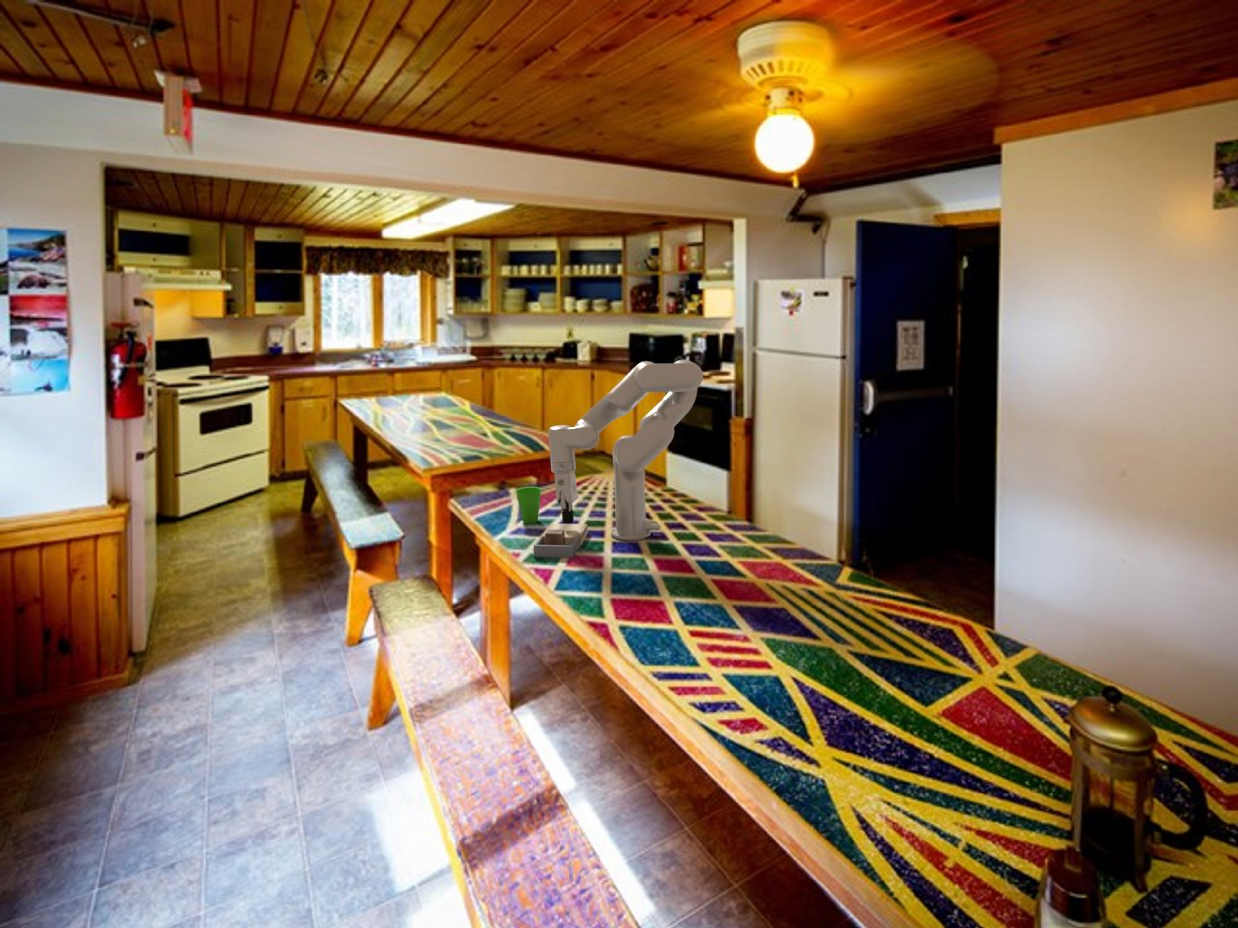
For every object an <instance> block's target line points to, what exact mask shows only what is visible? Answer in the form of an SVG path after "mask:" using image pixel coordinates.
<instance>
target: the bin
mask: <svg viewBox="0 0 1238 928" xmlns="http://www.w3.org/2000/svg"><path fill="white" fill-rule="evenodd" d="M579 549H580V547H579V536H576V537H575V539H574V540H573V542H572V544H571V545H544V535H543V534H541V535H540V536H539V538H538V539H537V540H536V541H535V543H534V545H533V556H534V557H533V558H552V559H553V558H556V559H557V558H558V559H559V558H561V559H562V558H563V559H567V558H568V559H573V558H574V557H575V555H577V554H576V553H577V552H578V550H579Z"/></svg>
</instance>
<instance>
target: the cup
mask: <svg viewBox="0 0 1238 928" xmlns="http://www.w3.org/2000/svg"><path fill="white" fill-rule="evenodd" d="M542 491H543V489H542V488H541V487H538V486H525V487H524V486H523V487H519V488H517V489H515V490H514V492H515V494H516V498H517V502H518V507H519V512H520V516H521V520H522V522H523V523H524V524H534V523H537V522H538V520H539V512H540V504H541V495H542Z"/></svg>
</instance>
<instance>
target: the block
mask: <svg viewBox="0 0 1238 928" xmlns="http://www.w3.org/2000/svg"><path fill="white" fill-rule="evenodd" d="M545 531H546V530H545ZM545 545H565V535H564V530H555V529H548V530H547V531H546V533H545Z"/></svg>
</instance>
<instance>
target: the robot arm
mask: <svg viewBox="0 0 1238 928" xmlns="http://www.w3.org/2000/svg"><path fill="white" fill-rule="evenodd" d="M703 379H704V374H703V370H702V369H701V367H700V366H699V365H698V364H697V363H695V362H692V361H691V360H687V359H679V360H676V361H675V362H673V363H654V362H652V361H648V360H645V361H641V362H640V363H638V364H636V366H634V367H633V368H632V369H631V370H630V371H629V372H628V373H627V374H626V375H625V377H624V378H622V380H620V382H618V384H616V385H615V386H614V387H613V388H612V389H611V390H610V391H609V392H608V393H607V394H606V395H604V397H602V398H601V399H600V400H599V401H598V402H597V403H596V404H595V405H593V406H592V407H591V408H590V409H589V410H588V411H587V412H586V413H585V414H584V415H583V416H582V417H581V418H580V419H579V420H578V421H577V422H576V424H575V425H574V427H572V426H570V425H567V424H561V425H554V426H551V427H550V428H549V429H548V431H547V433H548V435H547V436H548V446H549V459H550V468H551V472H552V473H553V474H554V488H555V501H556V504H558V505H560V508H561V518H562V524H574V521H575V519H574V510H573V503H574V502H575V501H576V499H577V497H578V494H579V493H578V488H577V487H578V486H577V480H576V473H575V471H576V470H577V466H576V464H577V463H576V454H575V453H576V451H575V450H582V451H583V450H584V451H585V450H591V449H593V448H595V447H596V446H597V445H598V443H599V440H600V435H599V434H600V433H601V432H602V431H603V430H604V429H605V428H606V427H607V426H608V425H610V424H611V423H613V421H615V420H616V419H618V418H621V417H624V416H626V415H627V414H628V413H630V412H631V411H632V410H633V409H634V408H635V407H636V406H637V405H638V404H639V403H640V402H641V401H642V400H643V399H644V398H645V397H646V396H647V395H648V394H650V393H652V394H653V393H666V395H665V396H664V397H663V398H662V399H661V400H660V402H658V403H657V404H656V405H655V406H654V407H653V408H652V409H650V411H649V412H648V413H647V414H645V415H644V416H643V417H642V419H641V420H640V421H639V425H638V430H637V431H636V432H635V433H634V435H629V434H628V435H622V436H620V437H619V438H617V440H616V441H615V443H614V445H613V447H612V463H613V475H614V479H613V480H614V509H615V510H614V511H615V513H614V514H615V527H613V528H612V529H611V531H610V535H611V537H612V538H614V539H617V540H620V541H621V540H622V541H637V540H644V539H646V538H648V537H650V536H651V534H652V533H651V532H652V531H659V532H660V530H661V529H660V528H661V525H660V524H659V523H657V522H649V521H648V518H647V517H646V474H645V473H646V472H645V468H647V467H648V465H650V464H651V463H652V462H653V461H654V460H655V459H656V458H657V457H658V456H659V455H660V454H661V453H662V452H663V451H664V450H665V449H666V448H667V447H668V446H669V445H670V443H672V441H673V439H674V435H675V426H676V425H677V424H679V422H681V421H682V419H683V418H684V417H685V416H686V415H687V414H688V413H689V412H690V411H691V409H692V407H693V405H694V404H695V401H696V399H697V395H698V394H697V393H698V388H699V387H700V386H701V384H702V383H703Z"/></svg>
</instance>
